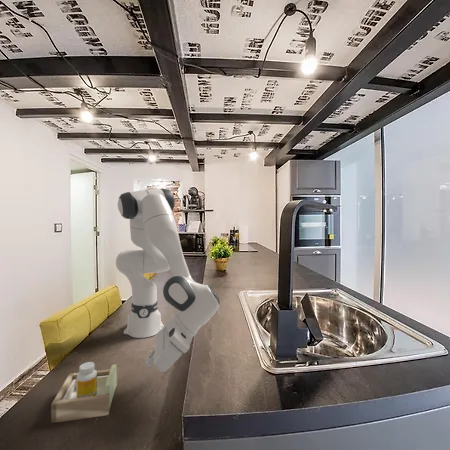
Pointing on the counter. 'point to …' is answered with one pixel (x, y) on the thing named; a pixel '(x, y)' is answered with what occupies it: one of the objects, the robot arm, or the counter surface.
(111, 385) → the tray
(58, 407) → the tray frame
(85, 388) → the supplement bottle
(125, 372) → the counter surface
